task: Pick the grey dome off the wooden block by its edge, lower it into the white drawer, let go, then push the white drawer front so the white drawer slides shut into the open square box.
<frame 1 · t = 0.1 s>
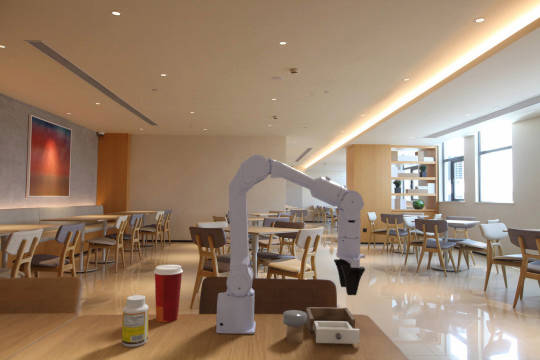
hand: (348, 290, 95), 10 cm above the table, tool pointing down, fingers open, 7 cm apart
paper cup: (166, 319, 101), on the table
wooden block: (294, 339, 88), on the table
white drawer: (334, 329, 89), point 2 cm above the table, slide at 6.0 cm
grey dome: (294, 322, 89), point 4 cm above the table, touching wooden block
open square box: (329, 329, 96), on the table
supplement bottle: (134, 343, 85), on the table
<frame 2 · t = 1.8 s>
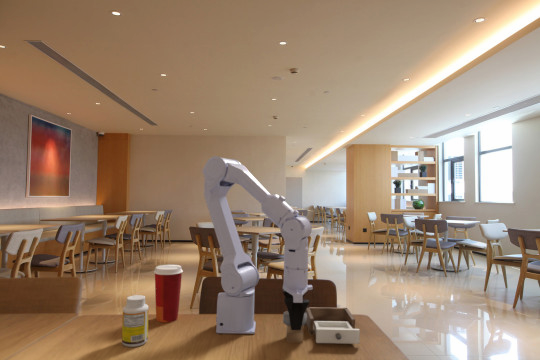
hand: (294, 324, 89), 3 cm above the table, tool pointing down, fingers closed on grey dome, 6 cm apart
grey dome: (294, 322, 89), point 4 cm above the table, touching gripper, wooden block
everything else where it was.
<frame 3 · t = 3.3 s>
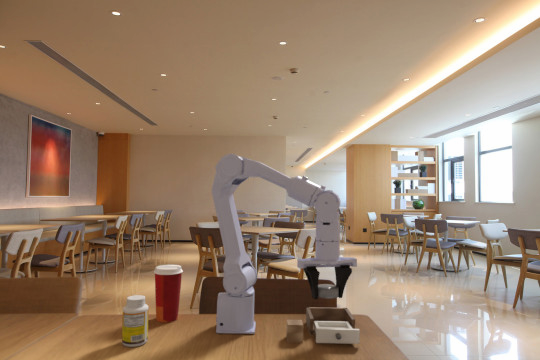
hand: (327, 297, 89), 10 cm above the table, tool pointing down, fingers closed on grey dome, 6 cm apart
grey dome: (326, 295, 90), point 10 cm above the table, touching gripper
everything else where it was.
when the fingers open (3 cm above the table, at t = 5.0 s): grey dome drops 2 cm, resting on white drawer.
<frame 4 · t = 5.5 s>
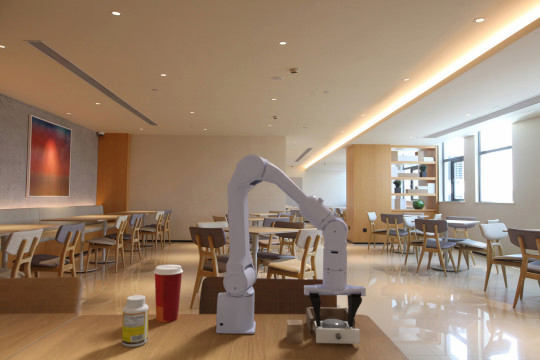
hand: (334, 325, 90), 3 cm above the table, tool pointing down, fingers open, 7 cm apart
white drawer: (334, 329, 89), point 2 cm above the table, slide at 6.0 cm, touching grey dome
grey dome: (334, 331, 90), point 2 cm above the table, touching white drawer
everything else where it was.
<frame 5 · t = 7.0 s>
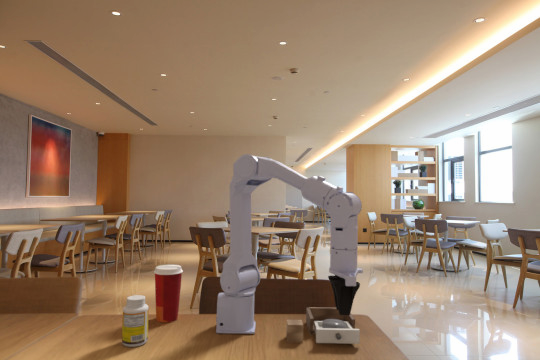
hand: (342, 312, 80), 9 cm above the table, tool pointing down, fingers open, 3 cm apart
nothing on the table moved.
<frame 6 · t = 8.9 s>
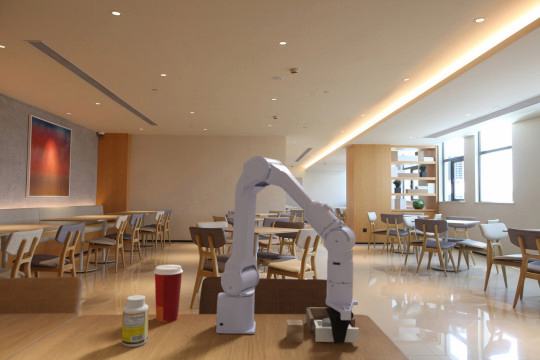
hand: (338, 342, 83), 2 cm above the table, tool pointing down, fingers closed
white drawer: (334, 328, 89), point 2 cm above the table, slide at 5.2 cm, touching grey dome, gripper
everything else where it was.
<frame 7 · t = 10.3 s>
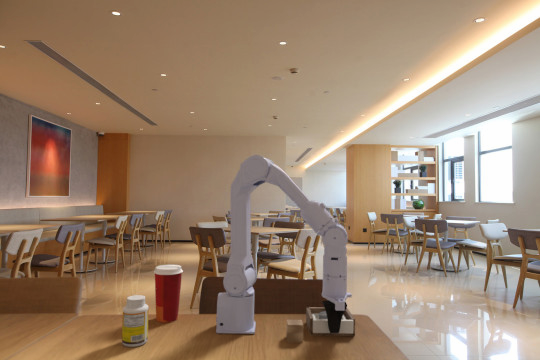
hand: (334, 332, 89), 2 cm above the table, tool pointing down, fingers closed, pressing on white drawer
white drawer: (330, 320, 95), point 2 cm above the table, slide at -0.1 cm, touching open square box, grey dome, gripper
grey dome: (329, 322, 96), point 2 cm above the table, touching white drawer
everything else where it was.
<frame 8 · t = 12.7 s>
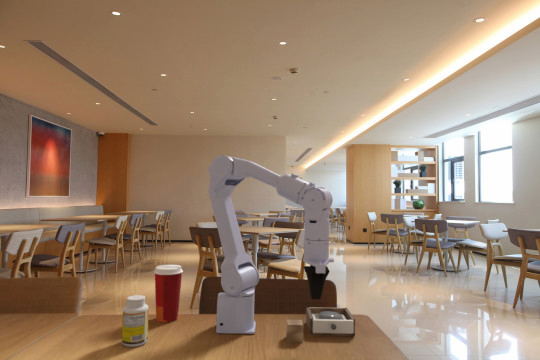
hand: (315, 298, 86), 10 cm above the table, tool pointing down, fingers closed
white drawer: (330, 320, 95), point 2 cm above the table, slide at 0.0 cm, touching grey dome
everything else where it was.
at the end: white drawer slide at 0.0 cm; grey dome inside the target area on the open square box (0.2 cm from its centre), point 1.7 cm above the open square box's base; the gripper is holding nothing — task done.
